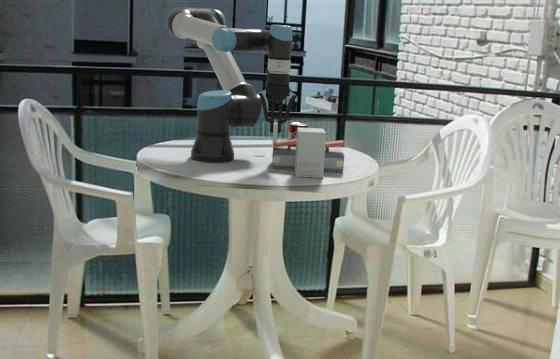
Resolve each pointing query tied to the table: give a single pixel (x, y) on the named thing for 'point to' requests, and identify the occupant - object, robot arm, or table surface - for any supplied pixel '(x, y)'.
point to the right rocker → (334, 143)
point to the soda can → (295, 130)
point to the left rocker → (285, 143)
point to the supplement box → (310, 152)
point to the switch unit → (287, 154)
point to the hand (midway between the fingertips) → (274, 142)
